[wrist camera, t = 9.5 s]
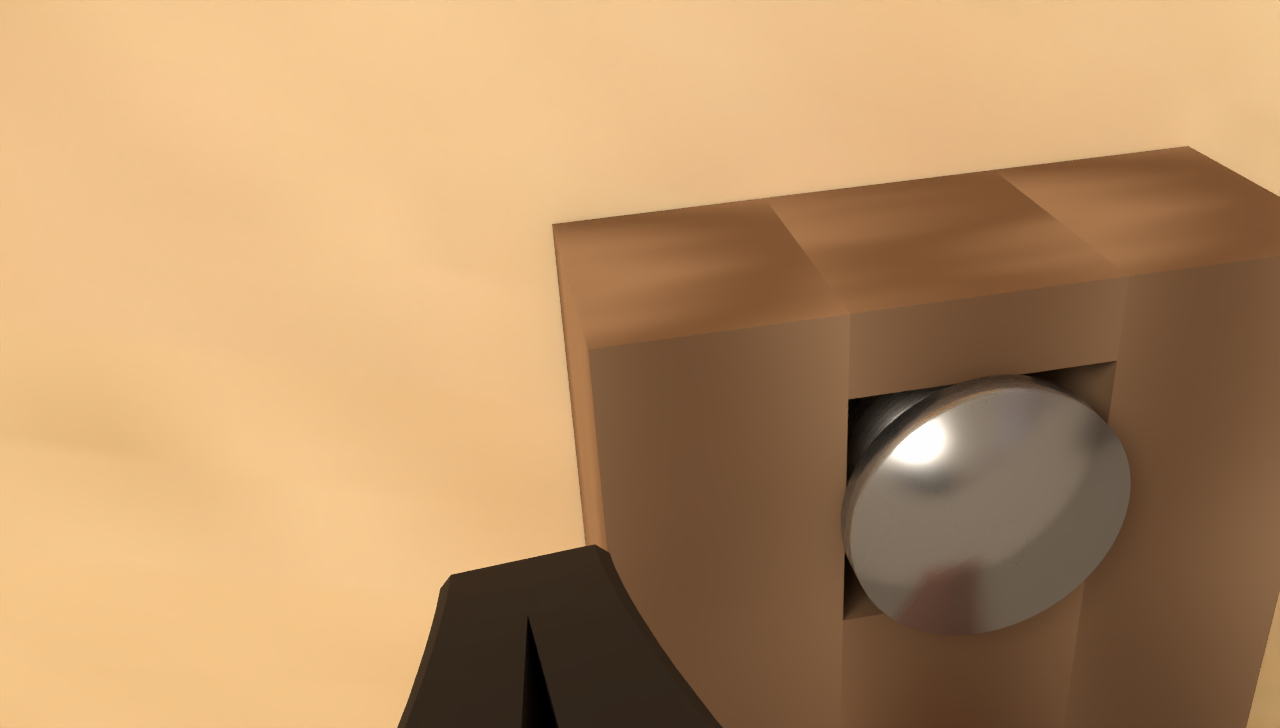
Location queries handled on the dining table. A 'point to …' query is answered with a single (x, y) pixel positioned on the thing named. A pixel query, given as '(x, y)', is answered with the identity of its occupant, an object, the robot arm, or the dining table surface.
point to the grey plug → (979, 500)
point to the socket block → (922, 358)
